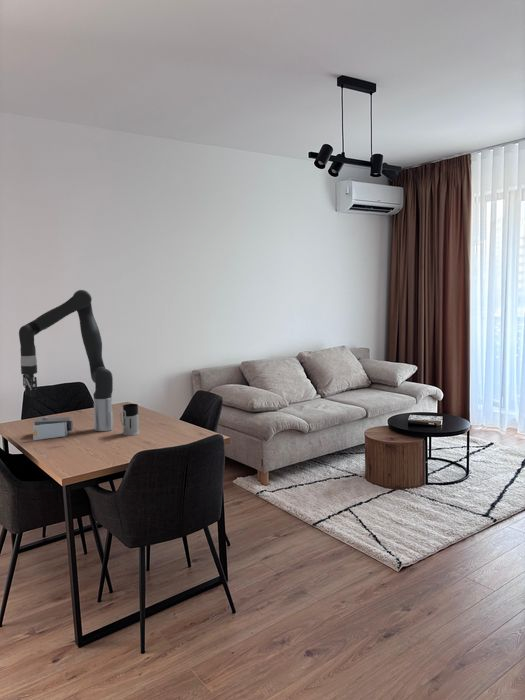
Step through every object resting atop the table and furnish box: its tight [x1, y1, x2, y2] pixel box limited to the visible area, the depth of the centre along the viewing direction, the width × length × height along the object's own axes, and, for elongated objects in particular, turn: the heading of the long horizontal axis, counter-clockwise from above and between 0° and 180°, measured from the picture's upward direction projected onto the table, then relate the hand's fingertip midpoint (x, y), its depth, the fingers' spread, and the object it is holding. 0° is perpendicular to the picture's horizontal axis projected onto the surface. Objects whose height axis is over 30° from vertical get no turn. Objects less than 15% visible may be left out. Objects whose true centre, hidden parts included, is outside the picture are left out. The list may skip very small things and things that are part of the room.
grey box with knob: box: [34, 416, 74, 438], centre depth 283 cm, size 17×10×9 cm, turn 96°
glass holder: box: [119, 403, 140, 437], centre depth 281 cm, size 9×14×15 cm, turn 164°
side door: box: [32, 422, 68, 441], centre depth 274 cm, size 16×2×7 cm, turn 121°
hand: (30, 396), depth 278 cm, fingers open, 8 cm apart
